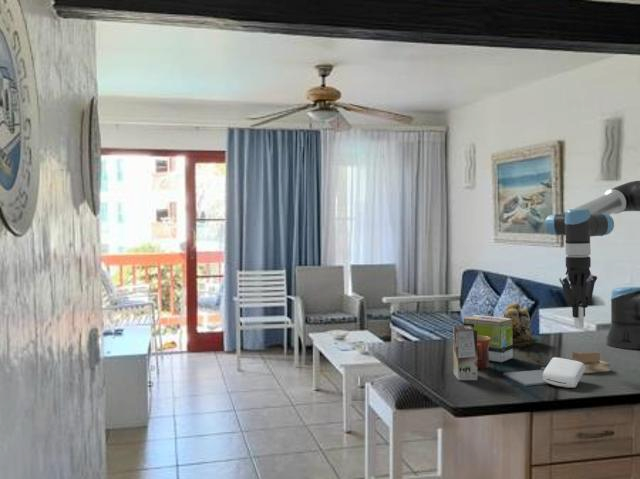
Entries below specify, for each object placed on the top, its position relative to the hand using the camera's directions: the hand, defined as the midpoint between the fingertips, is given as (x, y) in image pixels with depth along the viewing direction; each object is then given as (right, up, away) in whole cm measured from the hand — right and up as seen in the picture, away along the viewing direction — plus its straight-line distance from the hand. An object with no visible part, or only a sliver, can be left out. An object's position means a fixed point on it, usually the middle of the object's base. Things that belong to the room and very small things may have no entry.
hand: (579, 326), depth 191 cm
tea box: (-24, -15, +22) cm, 36 cm away
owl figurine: (-6, -14, +42) cm, 45 cm away
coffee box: (-39, -16, -3) cm, 42 cm away
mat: (-17, -16, -6) cm, 24 cm away
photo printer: (-7, -11, -8) cm, 15 cm away
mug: (-32, -16, +7) cm, 36 cm away
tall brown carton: (+2, -12, +2) cm, 13 cm away
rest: (+4, -15, +3) cm, 16 cm away
